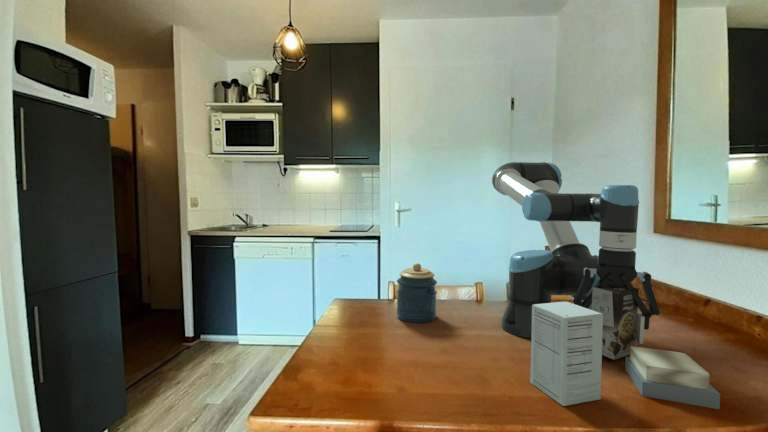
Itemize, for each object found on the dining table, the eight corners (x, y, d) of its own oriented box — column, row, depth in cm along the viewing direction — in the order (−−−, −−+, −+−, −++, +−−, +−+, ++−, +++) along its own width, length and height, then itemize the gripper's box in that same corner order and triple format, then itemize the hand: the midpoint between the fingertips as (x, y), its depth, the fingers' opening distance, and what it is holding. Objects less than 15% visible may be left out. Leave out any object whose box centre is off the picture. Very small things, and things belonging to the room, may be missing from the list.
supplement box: (602, 400, 68) (606, 313, 67) (563, 408, 65) (566, 318, 64) (564, 376, 77) (566, 300, 76) (528, 382, 74) (530, 303, 74)
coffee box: (615, 360, 82) (618, 292, 81) (588, 349, 88) (590, 286, 87) (637, 353, 86) (640, 288, 85) (609, 343, 92) (612, 282, 91)
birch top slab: (645, 380, 70) (646, 365, 70) (629, 359, 79) (630, 346, 79) (708, 389, 67) (709, 374, 67) (684, 366, 76) (684, 352, 76)
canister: (444, 318, 114) (445, 264, 113) (413, 326, 106) (414, 268, 106) (418, 308, 124) (419, 258, 124) (388, 314, 117) (389, 262, 116)
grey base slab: (641, 399, 70) (642, 381, 70) (625, 371, 81) (625, 356, 81) (719, 412, 65) (720, 394, 65) (690, 382, 77) (690, 366, 76)
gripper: (566, 247, 86) (562, 336, 88) (681, 254, 78) (676, 352, 79) (562, 244, 93) (559, 326, 95) (668, 249, 85) (663, 339, 86)
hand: (612, 338), depth 87 cm, fingers closed on coffee box, 10 cm apart
